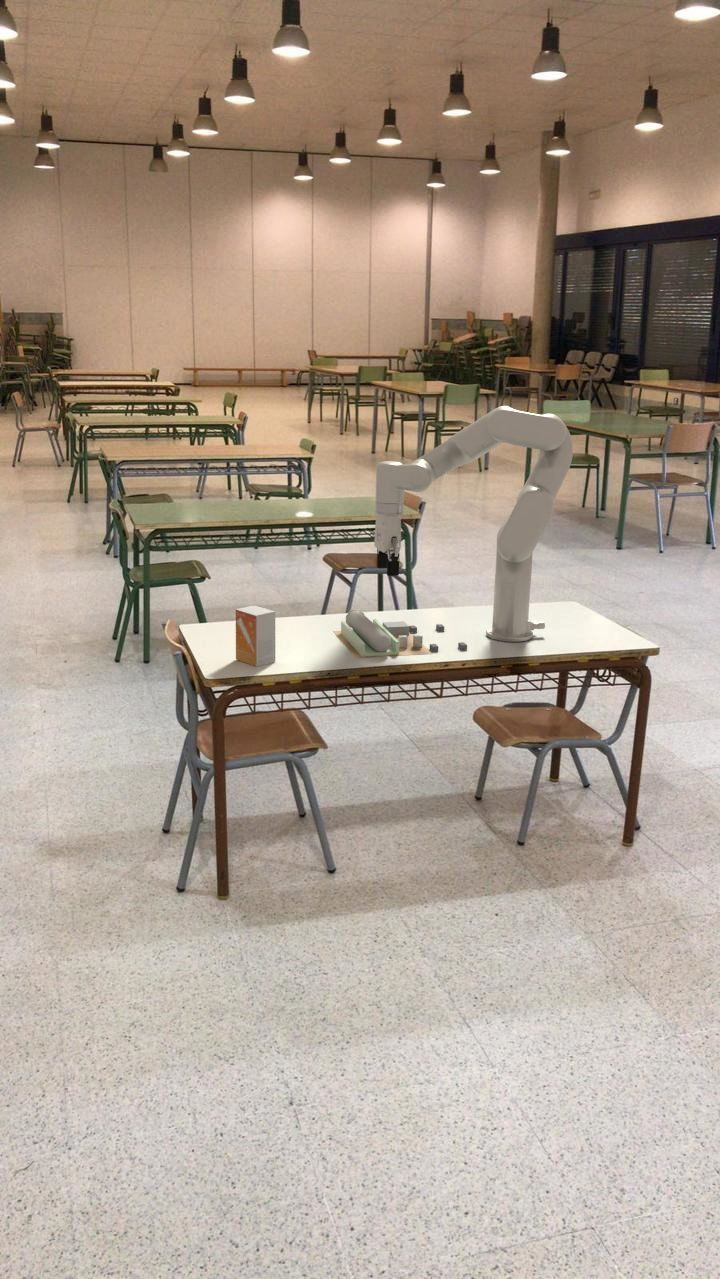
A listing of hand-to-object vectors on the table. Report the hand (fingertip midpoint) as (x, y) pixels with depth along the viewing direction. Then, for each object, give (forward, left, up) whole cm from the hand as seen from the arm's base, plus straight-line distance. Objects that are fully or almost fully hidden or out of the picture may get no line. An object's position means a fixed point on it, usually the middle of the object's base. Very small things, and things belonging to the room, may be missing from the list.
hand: (387, 571), depth 294 cm
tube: (+9, +16, -14) cm, 24 cm away
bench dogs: (0, +22, -15) cm, 27 cm away
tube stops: (-9, +17, -16) cm, 25 cm away
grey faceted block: (0, +9, -15) cm, 17 cm away
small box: (+40, +23, -16) cm, 49 cm away
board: (+6, +16, -16) cm, 24 cm away
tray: (+9, +17, -15) cm, 24 cm away
